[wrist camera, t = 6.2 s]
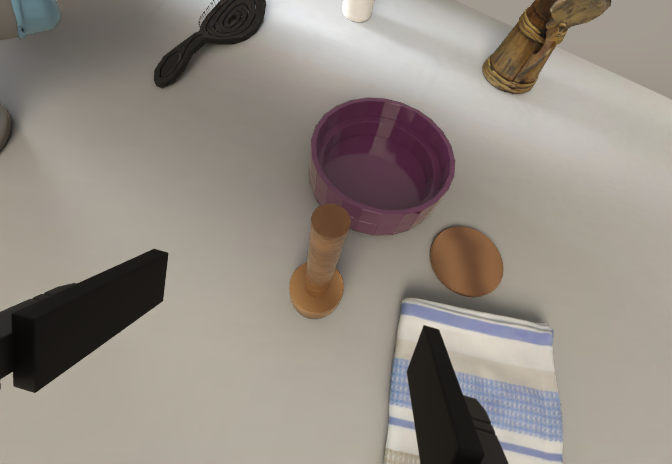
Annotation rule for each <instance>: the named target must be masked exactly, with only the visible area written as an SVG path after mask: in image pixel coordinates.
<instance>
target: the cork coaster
mask: <svg viewBox="0 0 672 464" xmlns="http://www.w3.org/2000/svg"><path fill="white" fill-rule="evenodd" d="M430 260H431V265H432V268H433V270H434V272H435V274H436V276H437V277H438V278H439V280H440V281H441V282H442V283H443V284H444V285H445V286H446V287H447V288H449V289H450V290H452V291H453V292H455V293H458V294H460V295H463V296H468V297H479V296H483V295H486V294H488V293H490V292H492V291H493V290H494V289H495V288H496V287H497V286H498V285H499V283H500V281H501V279H502V275H503V262H502V258H501V255H500V253H499V251H498V249H497V248H496V246H495V245H494V244H493V242H492V241H491V240H490V239H489V238H487V237H486V236H485V235H484V234H482V233H481V232H479V231H477V230H474V229H472V228H468V227H461V226H458V227H451V228H448V229H446V230H444V231H442V232H441V233H440V234H439V235H438V236H437V237H436V238H435V240H434V241H433V243H432V246H431V250H430Z"/></svg>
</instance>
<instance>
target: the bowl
mask: <svg viewBox="0 0 672 464" xmlns="http://www.w3.org/2000/svg"><path fill="white" fill-rule="evenodd" d="M454 170H455V159H454V155H453V151H452V147H451V145H450V143H449V141H448V139H447V138H446V136H445V134H444V132H443V131H442V130H441V129H440V128H439V127H438V126H437V125H436V124H435V123H434V122H433V121H432V120H431V119H430V118H429V117H427V116H426V115H424V114H423V113H421V112H420V111H419V110H417V109H415V108H412V107H410V106H408V105H406V104H403V103H401V102H397V101H393V100H389V99H383V98H362V99H355V100H350V101H348V102H345V103H343V104H340V105H337V106H336V107H334V108H333V109H332V110H330V111H329V112H327V113H326V114H325V115H324V116H323V117H322V119H321V120H320V121H319V123H318V124H317V125H316V127H315V130H314V133H313V136H312V139H311V149H310V165H309V178H310V185H311V188H312V190H313V193H314V196H315V198H316V199H317V201H318V202H319V204H320V205H324V204H336V205H339V206H341V207H343V208H344V209H345V210H346V211H347V212H348V214H349V216H350V220H351V224H350V228H351V229H352V230H355V231H358V232H362V233H367V234H371V235H393V234H397V233H401V232H404V231H408V230H410V229H411V228H413V227H415V226H417V225H418V224H420V223H422V222H423V220H424V219H425V218H426V217H427V216H428V215H429V214H430V213H431V212H432V210H433V209H434V208H435V206H436V205H437V204H438V202H439V201H440V200H441V199H442V197H443V196H444V195H445V193H446V192H447V191H448V189H449V187H450V185H451V182H452V180H453V177H454Z"/></svg>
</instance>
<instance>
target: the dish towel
mask: <svg viewBox="0 0 672 464" xmlns="http://www.w3.org/2000/svg"><path fill="white" fill-rule="evenodd" d="M423 325H426V326H429V327H433V328H436V329H439V330H440V333H441V336H442V338H443V341H444V344H445V347H446V349H447V352H448V355H449V358H450V360H451V363H452V366H453V369H454V371H455V374H456V377H457V379H458V382H459V385H460V388H461V390H462V393H463V395H465V396H468V397H471V398H475V399H477V400H478V402H479V403H480V404H481V405H482V407H483V408H484V409H485V410H486V412H487V414H488V417H489V419H490V421H491V425H492V426H493V428H494V431H495V435H497V438H498V440H499V442H500V445H501V447H502V449H503V452H504V454H505V456H506V458H507V461H508V463H509V464H563V460H562V443H563V421H562V412H561V404H560V400H559V392H558V388H557V382H556V375H555V368H554V361H553V348H552V343H553V329H552V328H551V327H549V325H548V323H546V322H541V323H534V322H531V321H527V320H523V319H518V318H512V317H508V316H502V315H496V314H491V313H485V312H480V311H476V310H471V309H467V308H462V307H457V306H453V305H448V304H444V303H437V302H432V301H427V300H422V299H417V298H405V299H404V300H402V304H401V315H400V320H399V324H398V330H397V340H396V347H395V354H394V359H393V366H392V374H391V384H390V402H389V423H388V434H387V441H386V448H385V454H384V463H383V464H420V458H419V452H418V445H417V438H416V431H415V425H414V418H413V411H412V405H411V398H410V391H409V385H408V378H407V369H408V366H409V364H410V361H411V358H412V355H413V353H414V350H415V347H416V345H417V342H418V339H419V336H420V334H421V331H422V328H423Z"/></svg>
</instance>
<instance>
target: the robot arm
mask: <svg viewBox="0 0 672 464" xmlns="http://www.w3.org/2000/svg"><path fill="white" fill-rule="evenodd" d="M59 21H60V10H59V7H58V4H57V1H56V0H0V40H6V39H12V38H19V39H22V38H25V37H26V35H29V34H33V33H38V32H42V31H47V30H51V29H53V28H55V27H56V26H57V25H58V23H59ZM10 131H11V118H10V115H9V113H8V111H7V110H6V108H5V107H4V106H3V105H2V104H1V103H0V150H1V149H2V148H3V146H4V145H5V143H6V142H7V139H8V137H9V135H10ZM167 261H168V253H167V252H164V251H160V250H156V249H153V250H150V251H148V252H146V253H144V254H142V255H139V256H137V257H135V258H133V259H131V260H128V261H126V262H124V263H122V264H119V265H117V266H115V267H113V268H111V269H108V270H106V271H104V272H102V273H100V274H97V275H95V276H93V277H91V278H88V279H86V280H84V281H82V282H80V283H77V284H76V283H72V284H68V285H64V286H59V287H56V288H54V289H52V290H50V291H47V292H45V293H44V294H40V295H38V296H36V297H33V299H29V300H27V301H24V302H22V303H20V304H17V305H15V306H13V307H10V308H8V309H6V310H4V311H1V312H0V379H1V378H3V377H5V376H6V375H8V374H10V373H11V372H13V385H14V387H17V388H21V389H24V390H27V391H30V392H34V393H36V392H37V391H39V390H40V389H41V388H43V387H44V386H45V385H47V384H48V383H50V382H51V381H52V380H54V379H55V378H57V377H58V376H59V375H61V374H62V373H64V372H65V371H66V370H68V369H69V368H71V367H72V366H73V365H75V364H76V363H77V362H79V361H80V360H82V359H83V358H84V357H86V356H87V355H89V354H90V353H91V352H93V351H94V350H96V349H97V348H98V347H100V346H101V345H102V344H104V343H105V342H107V341H108V340H109V339H111V338H112V337H114V336H115V335H116V334H118V333H119V332H121V331H122V330H123V329H125V328H126V327H128V326H129V325H130V324H132V323H133V322H134V321H136V320H137V319H139V318H140V317H141V316H143V315H144V314H146V313H147V312H148V311H150V310H151V309H153V308H154V307H155V306H157V305H158V304H160V303H161V302H162V301H163V296H164V288H165V279H166V270H167ZM407 378H408V385H409V391H410V398H411V405H412V411H413V418H414V425H415V431H416V438H417V445H418V452H419V458H420V464H509V463H508V461H507V458H506V456H505V454H504V452H503V449H502V447H501V445H500V442H499V440H498V438H497V435H495V431H494V428H493V426H492V425H491V421H490V419H489V417H488V414H487V412H486V410H485V409H484V408H483V407H482V405H481V404H480V403H479V402H478V400H477V399H475V398H471V397H468V396H465V395H463V393H462V390H461V388H460V385H459V382H458V379H457V377H456V374H455V371H454V369H453V366H452V363H451V360H450V358H449V355H448V352H447V349H446V347H445V344H444V341H443V338H442V336H441V333H440V330H439V329H436V328H433V327H429V326H426V325H423V328H422V331H421V334H420V336H419V339H418V342H417V345H416V347H415V350H414V353H413V355H412V358H411V361H410V364H409V366H408V369H407ZM0 388H1V385H0Z"/></svg>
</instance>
